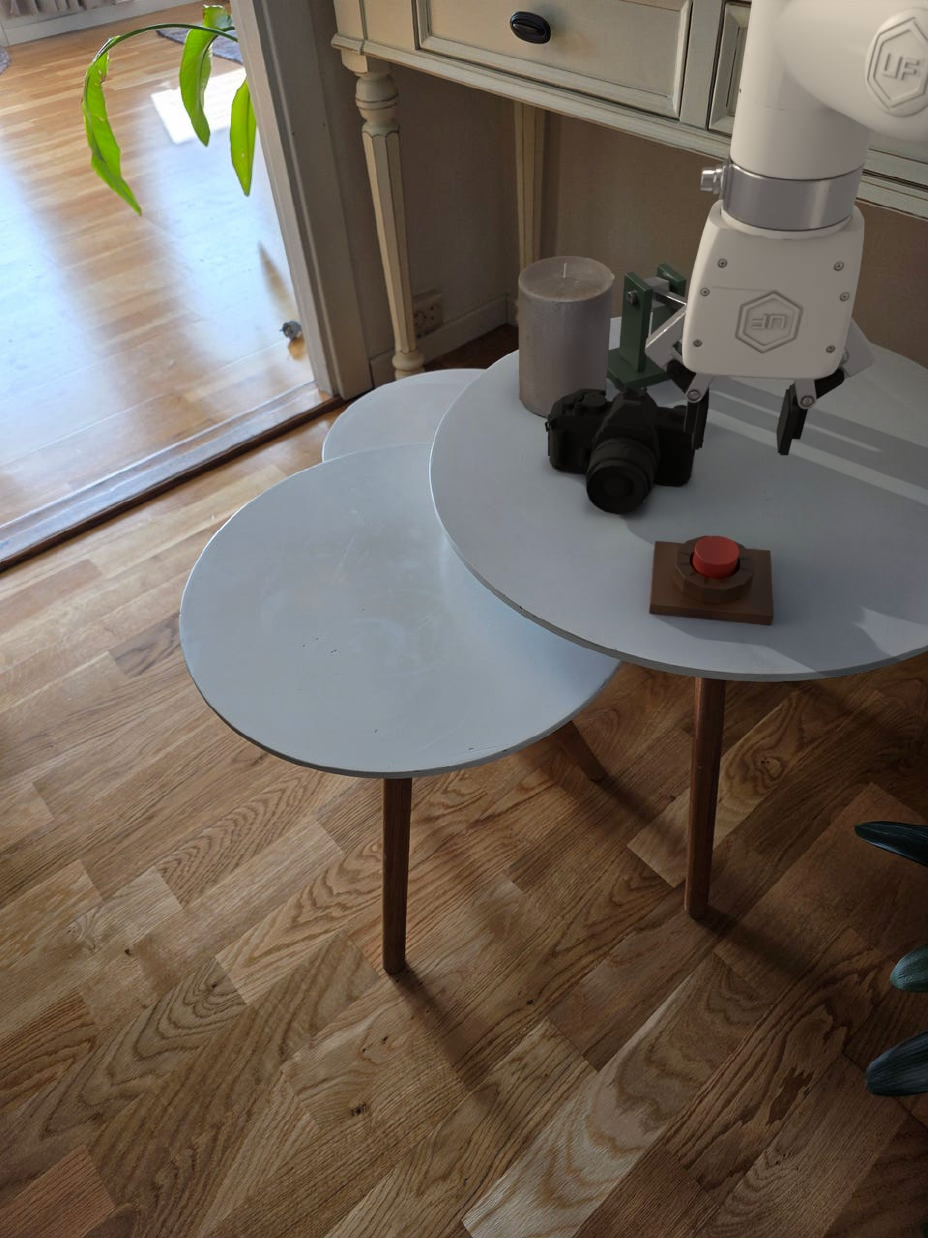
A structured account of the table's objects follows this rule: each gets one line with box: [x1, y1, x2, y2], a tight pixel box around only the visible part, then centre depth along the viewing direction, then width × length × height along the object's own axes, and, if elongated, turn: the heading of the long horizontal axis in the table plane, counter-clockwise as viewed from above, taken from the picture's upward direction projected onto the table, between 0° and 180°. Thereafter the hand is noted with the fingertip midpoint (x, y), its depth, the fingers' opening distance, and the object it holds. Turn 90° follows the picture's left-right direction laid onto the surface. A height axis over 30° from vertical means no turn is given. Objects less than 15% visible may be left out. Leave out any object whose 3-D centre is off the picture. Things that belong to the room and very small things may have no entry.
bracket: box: [607, 262, 687, 393], centre depth 96 cm, size 7×10×11 cm
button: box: [693, 535, 739, 579], centre depth 73 cm, size 4×4×2 cm
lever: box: [642, 276, 688, 310], centre depth 88 cm, size 17×6×2 cm, turn 22°
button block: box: [648, 534, 775, 626], centre depth 75 cm, size 10×8×3 cm
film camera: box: [544, 385, 705, 516], centre depth 83 cm, size 15×10×9 cm, turn 73°
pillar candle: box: [517, 255, 616, 418], centre depth 92 cm, size 10×10×15 cm
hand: (739, 439), depth 65 cm, fingers open, 5 cm apart
